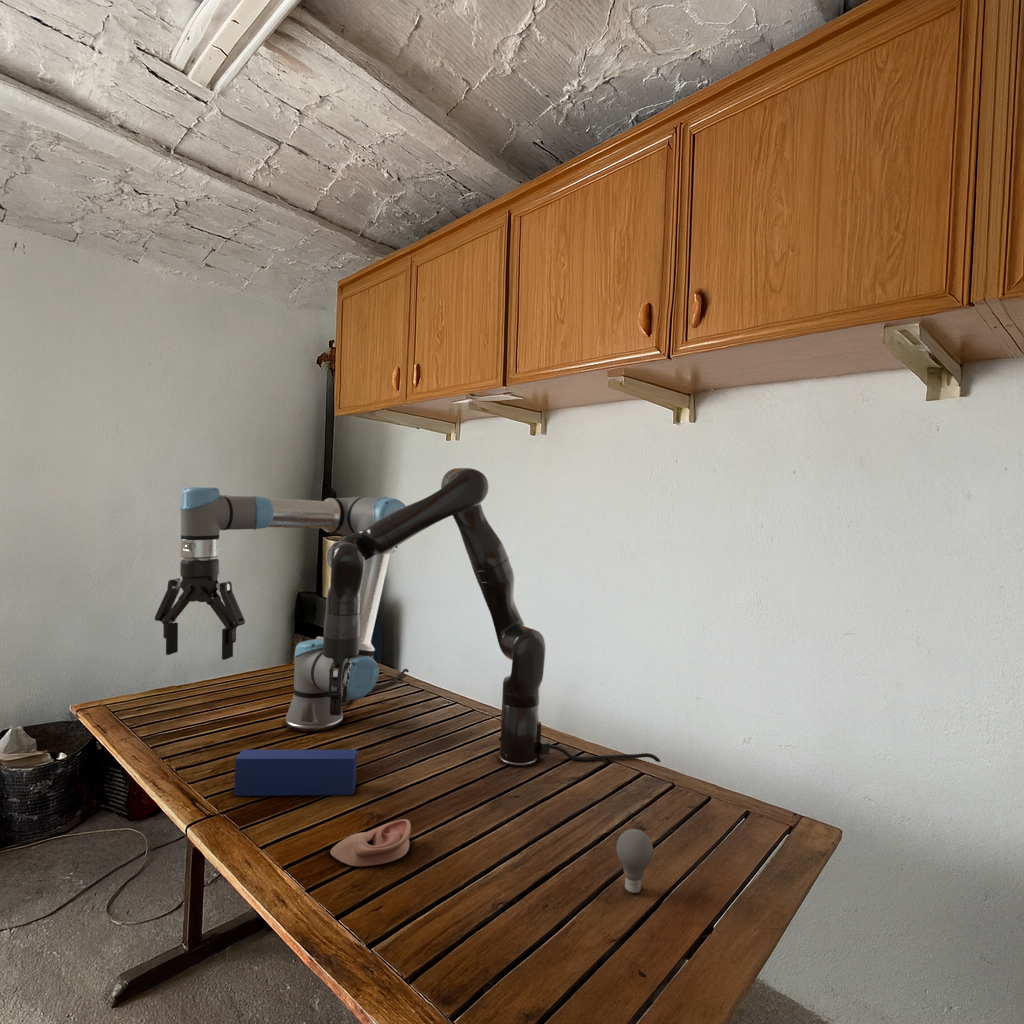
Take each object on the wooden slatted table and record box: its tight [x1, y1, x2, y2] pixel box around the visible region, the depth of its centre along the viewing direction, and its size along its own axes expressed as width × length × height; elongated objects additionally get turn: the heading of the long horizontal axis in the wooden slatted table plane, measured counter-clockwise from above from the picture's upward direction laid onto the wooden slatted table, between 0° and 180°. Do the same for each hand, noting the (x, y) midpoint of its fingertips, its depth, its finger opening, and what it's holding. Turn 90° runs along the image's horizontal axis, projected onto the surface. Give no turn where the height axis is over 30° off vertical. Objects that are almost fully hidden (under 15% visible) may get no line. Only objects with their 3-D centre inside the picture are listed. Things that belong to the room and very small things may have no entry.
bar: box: [233, 749, 358, 797], centre depth 136 cm, size 24×5×8 cm, turn 96°
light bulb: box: [615, 828, 654, 894], centre depth 106 cm, size 6×6×10 cm
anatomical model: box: [329, 818, 412, 867], centre depth 114 cm, size 13×4×12 cm
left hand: (199, 655), depth 138 cm, fingers open, 13 cm apart
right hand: (338, 708), depth 137 cm, fingers open, 8 cm apart
